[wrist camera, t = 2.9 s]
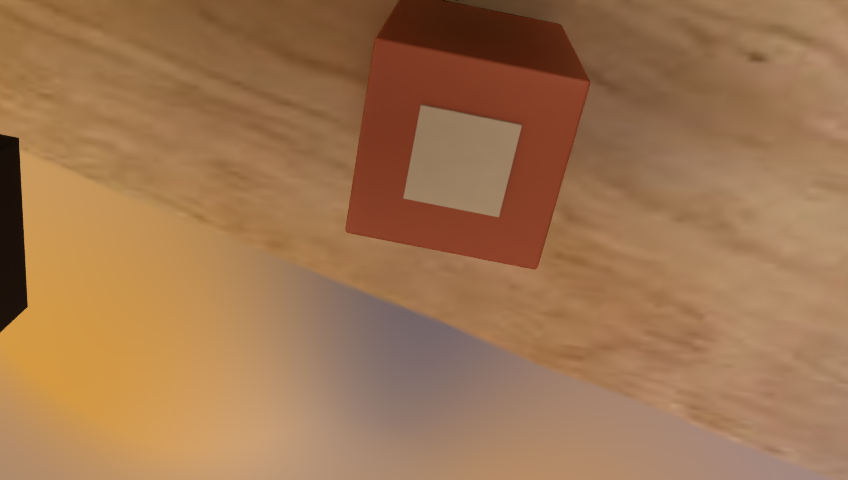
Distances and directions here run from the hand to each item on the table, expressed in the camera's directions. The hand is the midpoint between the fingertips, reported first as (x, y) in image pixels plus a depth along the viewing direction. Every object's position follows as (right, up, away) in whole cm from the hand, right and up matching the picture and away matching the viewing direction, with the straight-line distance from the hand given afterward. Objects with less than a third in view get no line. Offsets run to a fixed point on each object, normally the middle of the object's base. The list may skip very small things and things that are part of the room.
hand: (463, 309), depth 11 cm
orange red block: (+1, +6, +14) cm, 15 cm away
